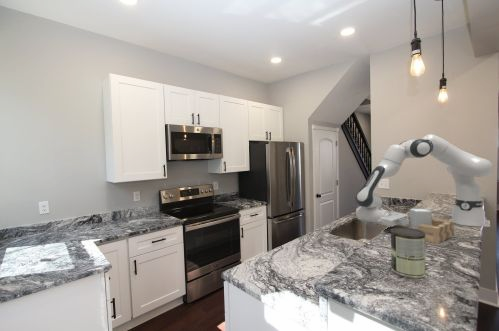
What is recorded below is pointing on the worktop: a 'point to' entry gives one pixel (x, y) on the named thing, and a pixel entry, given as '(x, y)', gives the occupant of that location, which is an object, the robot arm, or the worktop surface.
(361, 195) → the robot arm
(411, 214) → the supplement box
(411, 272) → the coffee can
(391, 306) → the worktop surface
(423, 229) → the oak rack
